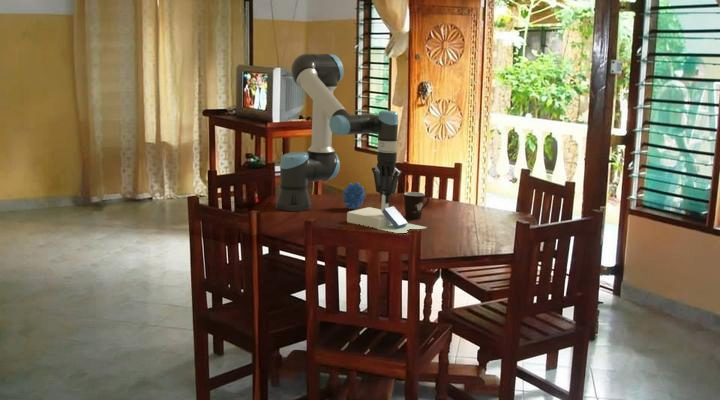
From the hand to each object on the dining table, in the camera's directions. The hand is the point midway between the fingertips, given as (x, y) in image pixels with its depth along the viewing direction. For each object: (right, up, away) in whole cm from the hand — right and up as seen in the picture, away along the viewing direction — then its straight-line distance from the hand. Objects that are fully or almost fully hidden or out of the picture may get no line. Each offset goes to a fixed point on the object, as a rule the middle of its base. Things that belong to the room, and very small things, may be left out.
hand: (384, 211), depth 302 cm
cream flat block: (-4, -5, +4) cm, 8 cm away
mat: (+7, -7, -4) cm, 10 cm away
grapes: (-12, 0, +28) cm, 30 cm away
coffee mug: (+14, -3, +16) cm, 21 cm away
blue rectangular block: (+3, -3, -2) cm, 5 cm away
